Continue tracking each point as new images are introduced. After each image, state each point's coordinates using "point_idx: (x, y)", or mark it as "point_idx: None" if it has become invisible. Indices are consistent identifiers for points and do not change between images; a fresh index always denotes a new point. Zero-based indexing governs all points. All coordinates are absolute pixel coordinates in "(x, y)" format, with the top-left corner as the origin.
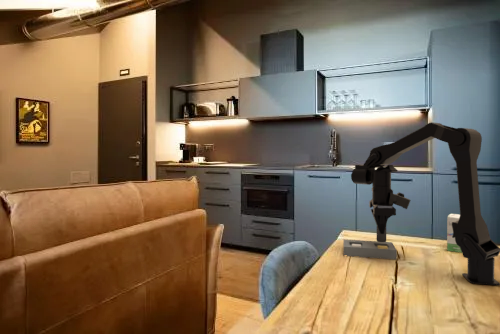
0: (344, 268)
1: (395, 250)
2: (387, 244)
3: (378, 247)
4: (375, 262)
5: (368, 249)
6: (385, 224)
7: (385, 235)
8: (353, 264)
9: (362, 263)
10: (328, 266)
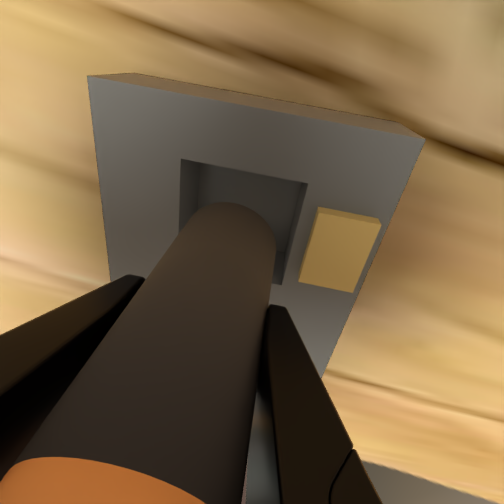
0: (499, 428)
1: (417, 150)
2: (200, 161)
3: (351, 287)
4: (439, 288)
5: (336, 333)
6: (349, 458)
7: (256, 258)
8: (449, 388)
9: (442, 351)
10: (452, 461)
